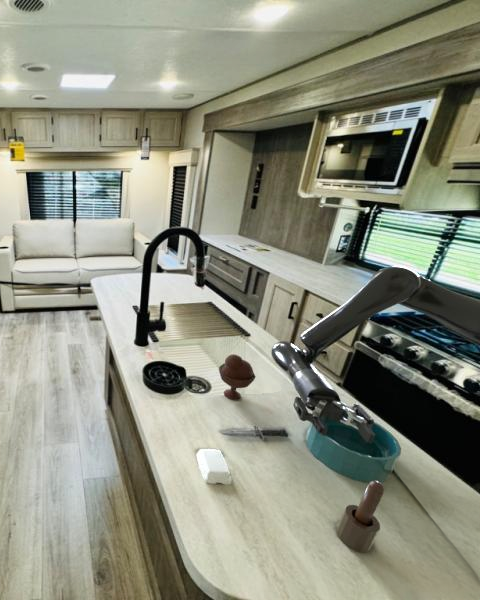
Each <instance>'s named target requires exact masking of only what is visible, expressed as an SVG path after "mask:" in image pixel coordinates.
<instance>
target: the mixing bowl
mask: <svg viewBox="0 0 480 600" xmlns="http://www.w3.org/2000/svg"><path fill="white" fill-rule="evenodd" d="M344 418H345V419H346V420H347V418H348V414H347V413H346V414H345V416H344ZM321 419H322V421H323V422H324V424H325V425H326V427H327V428H328V432H327V435H326V436H322V435H321V434H320V433H318V432H317V431H316V429H315V428H314V426H313V424H311V423H310V422H309V425H308V428H307V431H306V433H305V444H306V446H307V447H308V450H309V451H310V452H311V453H312V454H313V456H314V457H315V458H316V459H317V460H318V461H320V462H321V463H322V464H324V466H326V467H327V468H330V470H333V471H335V472H336V473H338V474H340V475H341V476H344V477H347V478H349V479H352V480H355V481H359V482H364V483H369V482H370V481H373V480H374V481H378V482H380V483H382V482H385V481H387V480H388V479H389V478H390V477H391V475H392V473H393V471H394V469H395V467H396V465H397V463H398V460H399V458H400V456H401V454H402V446H401V444H400V442H399V440H398V439H397V438H396V437H395V435H393V434H392V433H391V432H390V431H388V429H386V428H385V427H383V425H381V424H379V423H377V422H376V421H374V423H373V425H372V428H371V430H372V431H373V433H374V434H375V437H374V439H373V441H372V443H369V442H366V441H365V439H364V438H363V437H362V436H361V434H360V433H359V432H358V429H356V428H354V427H353V426H351V425H346V424H344V423H342V422H341V421H337V420H333V419H325V418H323V417H321ZM353 421H354V422H355V423H356V424H358V421H356V420H355V419H354V420H353Z"/></svg>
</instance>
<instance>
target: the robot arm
mask: <svg viewBox="0 0 480 600" xmlns="http://www.w3.org/2000/svg"><path fill="white" fill-rule="evenodd" d="M397 305H400V306H403V307H406V308H407V309H411V310H413V311H416V312H418V313H421V314H423V315H425V316H427V317H429V318H430V319H433V320H434V321H435V322H437V323H439V324H440V325H442V326H443V327H445V328H447V330H450V331H451V332H453V333H455V334H456V335H458V336H460V337H461V338H463V339H465V340H467V341H469V343H473V344H474V345H476V346H478V347H480V299H478V298H475V297H471V296H468V295H464V294H461V293H459V292H456V291H453V290H451V289H448V288H447V287H444V286H443V285H440V284H438V283H435V282H434V281H432V280H430V279H428V278H426V277H424V276H422V275H420V274H418V273H417V272H415V271H414V270H412V269H411V268H408V267H406V266H399V265H398V266H397V265H394V266H392V265H391V266H387V267H383V268H381V269H379V270H378V271H376V272H375V273H373V274H372V275H371V277H370V279H369V280H368V281H367V283H365V284H364V285H363V287H362V288H360V290H359V291H357V292H356V293H355V294H354V295H352V297H351V298H350V299H348V300H347V301H346V302H344V303H343V304H341V305H340V306H339V307H337V308H336V309H334V310H332V311H331V312H329V313H327V314H326V315H324V316H323V317H321V318H320V319H319V320H317V321H316V322H314V323H313V324H311V325H310V326H308V327H307V328H306V329H305V330H303V331H302V332H301V333H300V334H299V340H300V342H301V343H302V344H303V345H304V348H302V349H301V348H299V347H298V346H296V345H295V344H293V343H291V342H289V341H285V340H283V341H278V342H276V343H275V344H274V345H273V346H272V348H271V351H270V352H271V353H270V354H271V358H272V360H273V361H274V362H275V363H276V365H277V366H278V367H279V368H280V369H281V370H282V371H284V373H285V374H286V375H287V376H288V378H289V380H290V381H291V382H292V384H293V387H294V389H295V391H296V393H297V394H298V395H299V396H295V398H294V402H293V404H292V406H293V408H294V410H295V412H296V414H297V416H298V418H299V420H300V421H302V422H306V421H307V422H309V424H310V423H311V424H313V426H314V428H315V429H316V431H317V432H318V433H320V434H321V435H322V436H326V435H327V432H328V428H327V427H326V425H325V424H324V422H323V421H322V419H321V417H323V418H325V419H333V420H337V421H341V422H342V423H344V424H346V425H351V426H353V427H354V428H356V429H358V432H359V433H360V434H361V436H362V437H363V438H364V439H365V441H366V442H369V443H372V441H373V439H374V437H375V434H374V433H373V431H372V430H371V428H372V425H373V423H374V422H375V420H374V419H373V418H372V417H371V416H370V414H368V412H367V411H366V410H365V409H364V408H363V407H362V406H361V405H359V403H354V404H353V406H350V405H347V404H346V403H343V401H342V400H341V398H340V396H339V393H338V392H337V391H336V390H335V388H334V387H333V386H332V385H331V384H330V383H329V381H328V380H327V379H326V377H325V376H324V375H322V373H320V372H319V370H318V369H317V368H316V367H315V366H314V365H313V363H314V362H315V361H316V359H317V358H318V357H319V356H320V355H321V354H322V353H323V351H325V350H326V349H327V348H329V347H330V346H332V345H334V344H335V343H337V342H338V341H339V340H341V339H342V338H344V337H345V336H347V335H348V334H350V332H352V331H353V330H355V329H356V328H358V327H359V326H360V325H362V324H363V323H364V322H366V321H368V320H369V319H371V318H373V317H374V316H376V315H377V314H380V313H382V312H383V311H385V310H387V309H389V308H392V307H394V306H397ZM308 410H309V411H311V412H312V413H311V412H309V411H308ZM346 413H347V414H348V418H347V420H346V419H345V418H344V416H345V414H346ZM354 419H355V420H356V421H358V424H356V423H355V422H354V421H353V420H354Z"/></svg>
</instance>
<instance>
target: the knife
mask: <svg viewBox="0 0 480 600" xmlns="http://www.w3.org/2000/svg"><path fill="white" fill-rule="evenodd" d="M253 428H254V429H234V430H229V431H222V432H221V434H222V435H226V436H229V437H259V439H260V440H262V441H265V440H266V438H265V437H285V438H287V437H289V433H288V432H287V430H286V429H285V428H282V429H281V428H280V429H260V428H258V426H257V425H254V427H253Z"/></svg>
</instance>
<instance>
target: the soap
mask: <svg viewBox="0 0 480 600" xmlns="http://www.w3.org/2000/svg"><path fill="white" fill-rule="evenodd" d="M196 460H197V465H198V467H199V470H200V473H201V476H202V478H203V480H204V482H205V483H206V484H209V485H214V484H215V485H216V484H217V483H219V484H220V483H221V485H225V486H226V485H231V484H232V481H233V480H232V476H231V471H230V469H229V467H228V464H227V462H226V460H225V457H224V455H223V454H222V451H221V450H220V449H213V448H201V449H199V450H198V451H197V452H196Z"/></svg>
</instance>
